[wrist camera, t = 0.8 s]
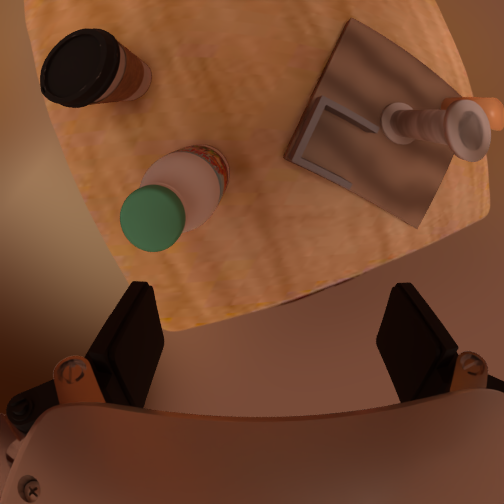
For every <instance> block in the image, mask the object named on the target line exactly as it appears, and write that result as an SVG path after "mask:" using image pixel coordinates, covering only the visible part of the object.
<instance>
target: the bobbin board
mask: <svg viewBox="0 0 504 504" xmlns="http://www.w3.org/2000/svg"><path fill="white" fill-rule="evenodd" d="M322 95H323V96H325V97H327V98H329V99H330V100H332V101H334V102H336V103H338V104H340V105H342V106H344V107H345V108H347V109H349V110H351V111H353V112H354V113H356V114H358V115H359V116H361V117H363V118H365V119H366V120H368V121H370V122H371V123H373V124H374V125H376V126H378V127H379V130H378V133H368V132H365V131H363V130H361V129H360V128H358V127H356V126H355V125H353V124H351V123H349V122H347V121H346V120H344V119H342V118H340V117H338V116H336V115H335V114H333V113H331V112H329V111H327V110H325V109H324V110H323V112H322V114H321V116H320V118H319V121H318V123H317V125H316V127H315V129H314V131H313V133H312V135H311V138H310V140H309V142H308V144H307V146H306V148H305V150H304V152H303V154H302V158H304V159H306V160H309V161H311V162H313V163H315V164H317V165H319V166H321V167H323V168H325V169H327V170H329V171H331V172H333V173H335V174H337V175H339V176H341V177H342V178H344V179H346V180H347V181H349V182H351V183H352V186H351V188H350V190H349V189H347V188H345V187H344V188H345V189H347V190H349V191H351V192H353V193H355V194H357V195H359V196H361V197H362V198H364V199H366V200H368V201H370V202H372V203H373V204H375V205H377V206H379V207H380V208H382V209H384V210H386V211H387V212H389V213H391V214H393V215H394V216H396V217H398V218H399V219H401V220H403V221H404V222H406V223H408V224H409V225H411V226H413V227H414V228H416V229H417V228H418V227H419V225H420V223H421V221H422V219H423V217H424V216H425V214H426V212H427V210H428V208H429V206H430V204H431V202H432V200H433V198H434V196H435V194H436V192H437V190H438V188H439V186H440V184H441V182H442V180H443V178H444V175H445V173H446V171H447V169H448V167H449V164H450V162H451V160H452V157H453V155H454V154H455V155H456V156H457V157H458V158H460V159H463V160H466V161H470V162H476V161H479V160H481V159H482V158H483V157H484V156H485V155H486V153H487V151H488V149H489V146H490V141H491V129H490V124H489V120H488V118H487V115H486V114H485V112H484V110H483V109H482V108H481V107H480V106H479V105H478V104H477V103H476V102H474V101H471V100H456V101H454V102H452V103H451V104H450V105H449V106H448V108H447V110H441V104H442V101H443V100H444V99H445V98H451V97H462V96H461V95H459V94H458V93H457V92H456V91H455V90H454V89H453V88H452V87H451V86H450V85H448V84H447V83H446V82H445V81H444V80H443V79H442V78H440V77H439V76H438V75H437V74H436V73H434V72H433V71H432V70H431V69H429V68H428V67H427V66H426V65H424V64H423V63H422V62H420V61H419V60H418V59H416V58H415V57H414V56H412V55H411V54H410V53H408V52H407V51H405V50H404V49H402V48H401V47H400V46H398V45H397V44H395V43H394V42H392V41H391V40H389V39H387V38H386V37H384V36H383V35H381V34H380V33H378V32H376V31H375V30H373V29H371V28H370V27H368V26H366V25H364V24H363V23H361V22H359V21H357V20H355V19H353V18H351V19H350V20H349V21H348V22H347V23H346V25H345V27H344V30H343V32H342V34H341V36H340V38H339V40H338V42H337V44H336V46H335V48H334V50H333V52H332V54H331V56H330V59H329V61H328V63H327V65H326V67H325V69H324V71H323V73H322V75H321V77H320V80H319V82H318V84H317V86H316V88H315V90H314V92H313V94H312V96H311V99H310V101H309V103H308V105H307V107H306V109H305V111H304V113H303V116H302V118H301V120H300V122H299V124H298V126H297V128H296V130H295V133H294V135H293V137H292V139H291V141H290V143H289V146H288V148H287V150H286V152H285V154H284V156H283V158H284V159H286V160H288V161H290V162H292V161H291V160H290V159H288V156H289V154H290V152H291V150H292V148H293V146H294V144H295V141H296V139H297V137H298V135H299V133H300V131H301V129H302V126H303V124H304V122H305V120H306V118H307V116H308V114H309V112H310V109H311V107H312V105H313V103H314V101H315V99H316V98H317V97H320V96H322ZM292 163H294V162H292ZM294 164H296V163H294ZM297 165H298V164H297ZM299 166H301V165H299ZM301 167H303V166H301ZM303 168H305V167H303ZM305 169H307V168H305ZM307 170H309V169H307ZM309 171H311V170H309ZM311 172H313V171H311ZM314 173H315V172H314ZM316 174H317V173H316ZM318 175H319V174H318ZM320 176H321V175H320ZM322 177H323V176H322ZM324 178H325V177H324ZM326 179H327V178H326ZM328 180H329V179H328ZM330 181H331V180H330ZM332 182H333V181H332ZM334 183H335V182H334ZM336 184H337V183H336ZM338 185H339V184H338ZM340 186H341V185H340ZM342 187H343V186H342Z"/></svg>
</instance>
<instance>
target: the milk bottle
mask: <svg viewBox="0 0 504 504" xmlns="http://www.w3.org/2000/svg"><path fill="white" fill-rule="evenodd" d="M229 174H230V173H229V166H228V163H227V161H226V159H225V157H224V156H223V155H222V153H221V152H219V151H218V150H217V149H215V148H213V147H211V146H208V145H201V144H200V145H192V146H189V147H186V148H183V149H180V150H177V151H175V152H172V153H169V154H167V155H165V156H164V157H162V158H160V159H158V160H157V161H156V162H155V163H154V164H152V165H151V167H150V168H149V169H148V170H147V172H146V173H145V175H144V177H143V179H142V181H141V184H140V188H139V189H137V190H135V191H134V192H133V193H131V194H130V195H129V196H128V197H127V198H126V200H125V201H124V203H123V206H122V208H121V212H120V223H121V227H122V230H123V232H124V234H125V236H126V237H127V239H128V240H129V241H130V242H131V243H132V244H133V245H134V246H136V247H137V248H139V249H142V250H144V251H148V252H158V251H162V250H165V249H167V248H169V247H170V246H172V245H173V244H174V243H175V242H176V241H177V239H178V238H179V237H180V235H181V233H184V232H188V231H191V230H194V229H196V228H197V227H199V226H201V225H202V224H203V223H205V222H206V221H207V220H208V219H209V218H210V216H211V215H212V214H213V212H214V211H215V209H216V207H217V206H218V204H219V202H220V200H221V198H222V196H223V193H224V191H225V189H226V187H227V184H228V181H229Z"/></svg>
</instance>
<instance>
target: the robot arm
mask: <svg viewBox="0 0 504 504" xmlns="http://www.w3.org/2000/svg"><path fill="white" fill-rule="evenodd" d="M376 344H377V347H378V349H379V352H380V354H381V356H382V358H383V361H384V363H385V365H386V368H387V370H388V373H389V375H390V377H391V380H392V382H393V384H394V387H395V389H396V392H397V394H398V397H399V400H400V402H401V403H399V404H393V405H388V406H382V407H377V408H370V409H364V410H356V411H349V412H340V413H330V414H319V415H306V416H289V417H288V416H286V417H232V416H211V415H198V414H186V413H178V412H169V411H159V410H152V409H145V408H143V407H144V404H145V400H146V397H147V394H148V391H149V388H150V385H151V382H152V379H153V376H154V373H155V370H156V367H157V364H158V362H159V359H160V356H161V353H162V350H163V347H164V336H163V332H162V328H161V323H160V319H159V314H158V310H157V305H156V300H155V295H154V290H153V287H152V286H149V284H148V283H147V282H140V281H133V282H132V283H131V284H130V286H129V287H128V289H127V290H126V292H125V293H124V295H123V296H122V298H121V299H120V301H119V303H118V304H117V306H116V307H115V309H114V310H113V312H112V314H111V315H110V316H109V318H108V319H107V321H106V322H105V324H104V326H103V327H102V329H101V330H100V332H99V334H98V335H97V337H96V339H95V341H94V342H93V344H92V345H91V347H90V349H89V351H88V352H87V354H86V356H85V357H81V356H70V357H67V358H65V359H63V360H61V361H60V362H59V363H58V364H57V365H56V367H55V369H54V372H53V378H54V379H53V380H51V381H49V382H46V383H44V384H42V385H39V386H37V387H34V388H32V389H29V390H27V391H25V392H22V393H20V394H18V395H16V396H14V397H13V398H12V399H11V400H10V401H9V403H8V405H7V409H6V411H7V414H6V415H5V416H4V415H3V414H2V413H1V414H0V504H504V381H502V380H499V379H497V378H495V377H493V376H491V375H488V366H487V363H486V361H485V360H484V359H483V358H482V357H481V356H480V355H478V354H477V353H474V352H471V351H465V352H462V353H460V354H459V355H458V354H457V352H456V351H457V349H458V346H457V344H456V343H455V341H454V340H453V338H452V337H451V336H450V334H449V333H448V331H447V330H446V328H445V327H444V326H443V324H442V323H441V321H440V320H439V319H438V317H437V316H436V315H435V313H434V312H433V311H432V309H431V308H430V307H429V305H428V304H427V303H426V301H425V300H424V299H423V298H422V296H421V295H420V294H419V292H418V291H417V290H416V289H415V287H414V286H413V285H412V284H411V283H397V284H396V286H395V287H393V288H392V290H391V293H390V297H389V300H388V304H387V307H386V310H385V314H384V317H383V320H382V323H381V326H380V329H379V332H378V335H377V338H376Z"/></svg>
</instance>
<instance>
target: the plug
mask: <svg viewBox="0 0 504 504" xmlns="http://www.w3.org/2000/svg"><path fill="white" fill-rule="evenodd" d="M456 100H471V101H474V102H476V103H477V104H478V105H479V106H480V107H481V108H482V109H483V110H484V112H485V114H486V115H487V118H488V120H489V124H490V129H491V130H497V131H500V130H502V129H503V128H504V107H503V105H502V103H501V102H500V101H499V100H498V99H496V98H484V97H482V98H480V97H451V98H445V99H444V100H443V101H442V104H441V110H447V108H448V106H449V105H450V104H451V103H452V102H454V101H456Z"/></svg>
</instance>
